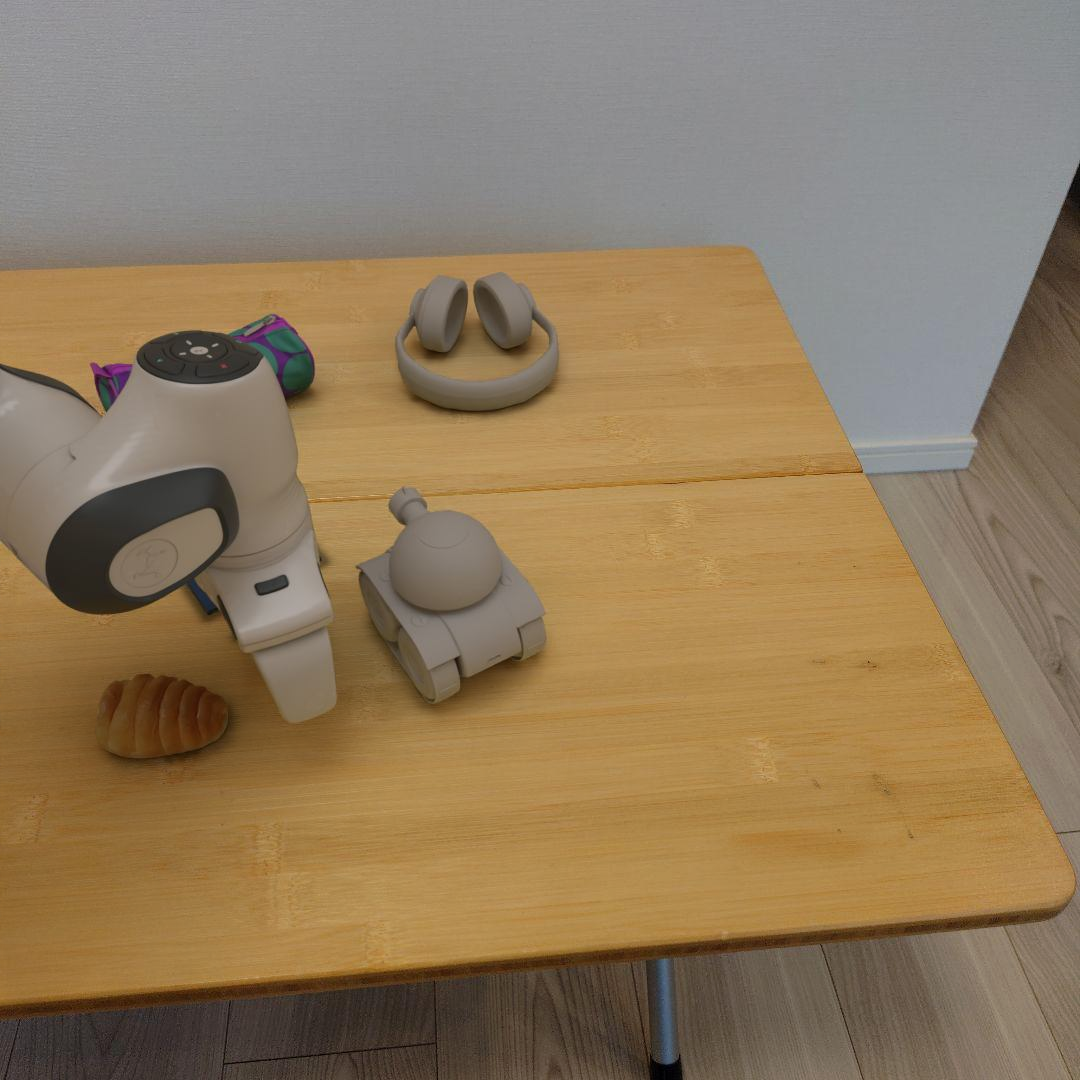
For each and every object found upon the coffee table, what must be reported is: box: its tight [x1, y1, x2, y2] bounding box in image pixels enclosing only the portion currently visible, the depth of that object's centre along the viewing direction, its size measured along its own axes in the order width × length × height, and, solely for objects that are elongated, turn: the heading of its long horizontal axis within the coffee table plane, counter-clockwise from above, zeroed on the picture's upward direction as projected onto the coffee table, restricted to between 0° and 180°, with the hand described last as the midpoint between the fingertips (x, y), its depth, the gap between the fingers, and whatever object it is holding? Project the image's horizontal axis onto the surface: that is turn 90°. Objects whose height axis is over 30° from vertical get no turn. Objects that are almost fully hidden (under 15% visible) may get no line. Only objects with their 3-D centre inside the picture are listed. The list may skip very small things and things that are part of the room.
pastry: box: [95, 672, 229, 760], centre depth 73 cm, size 9×7×4 cm
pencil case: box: [89, 313, 316, 413], centre depth 99 cm, size 21×9×10 cm, turn 126°
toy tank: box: [355, 485, 547, 705], centre depth 76 cm, size 15×11×13 cm
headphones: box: [394, 271, 560, 412], centre depth 108 cm, size 18×8×20 cm
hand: (285, 664), depth 77 cm, fingers closed
